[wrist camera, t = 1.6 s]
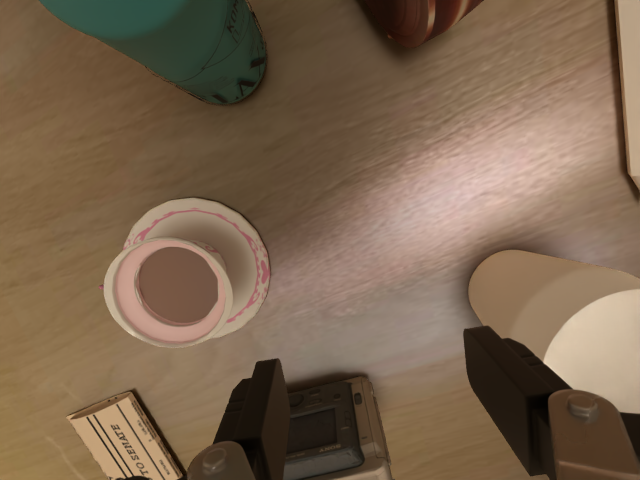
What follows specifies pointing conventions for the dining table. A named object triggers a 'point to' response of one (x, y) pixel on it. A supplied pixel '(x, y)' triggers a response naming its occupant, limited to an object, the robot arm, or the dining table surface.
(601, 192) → the dining table surface
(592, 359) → the cup
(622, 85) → the marker
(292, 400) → the camera
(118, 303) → the teacup
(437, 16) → the alarm clock
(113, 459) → the newspaper
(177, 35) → the beverage bottle
